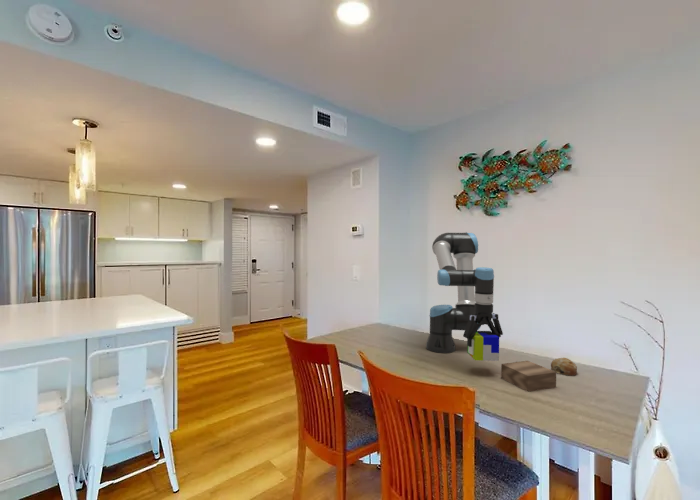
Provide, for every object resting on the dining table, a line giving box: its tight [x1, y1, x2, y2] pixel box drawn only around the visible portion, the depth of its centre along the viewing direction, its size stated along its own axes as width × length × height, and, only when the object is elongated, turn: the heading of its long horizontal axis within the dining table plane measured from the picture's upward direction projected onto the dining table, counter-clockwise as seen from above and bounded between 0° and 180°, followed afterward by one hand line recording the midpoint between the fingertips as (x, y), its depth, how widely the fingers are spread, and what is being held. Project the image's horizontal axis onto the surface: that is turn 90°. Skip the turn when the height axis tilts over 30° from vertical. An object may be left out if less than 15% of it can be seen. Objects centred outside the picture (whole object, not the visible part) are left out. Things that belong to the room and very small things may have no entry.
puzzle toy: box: [467, 330, 500, 362], centre depth 149 cm, size 10×10×10 cm
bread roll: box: [550, 357, 578, 377], centre depth 151 cm, size 10×10×8 cm
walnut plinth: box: [500, 360, 557, 392], centre depth 139 cm, size 14×14×6 cm
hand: (482, 352), depth 149 cm, fingers closed on puzzle toy, 12 cm apart
